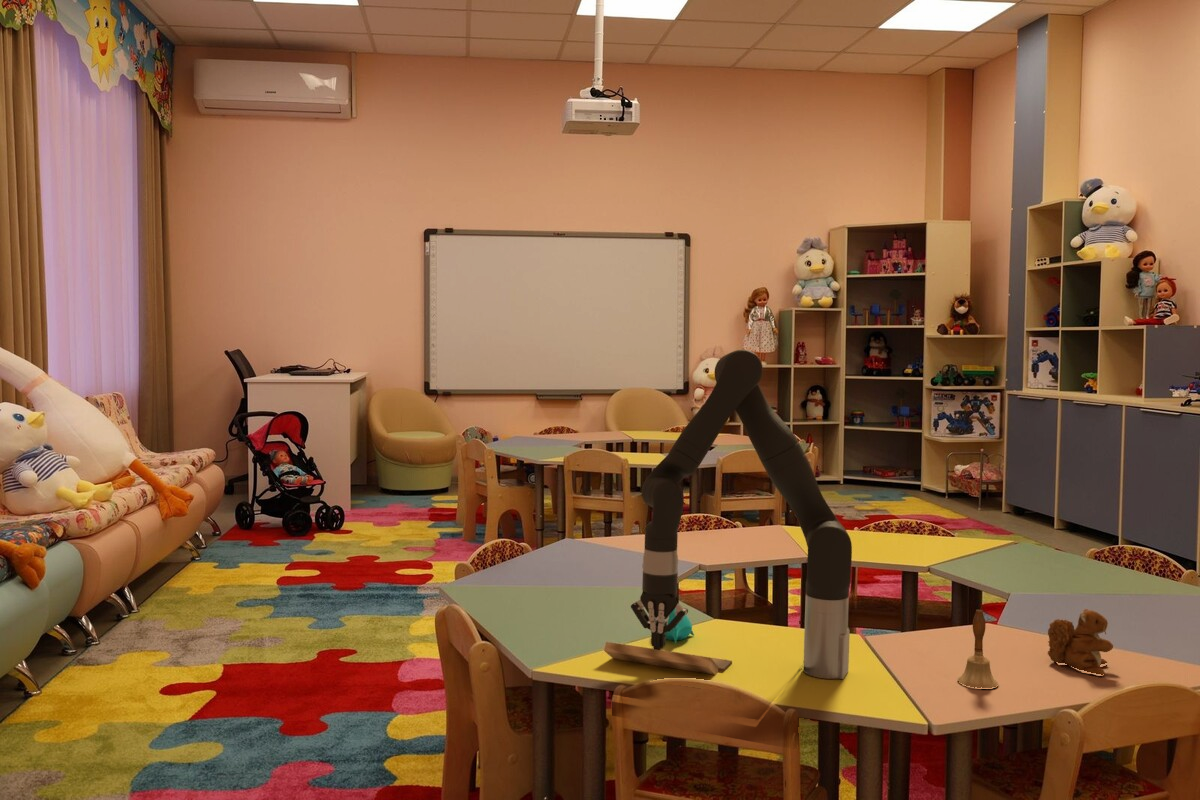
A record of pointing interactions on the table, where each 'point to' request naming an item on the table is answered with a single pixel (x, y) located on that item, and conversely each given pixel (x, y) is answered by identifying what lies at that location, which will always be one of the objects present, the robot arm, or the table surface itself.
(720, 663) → the base strip
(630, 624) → the table surface
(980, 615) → the hand bell
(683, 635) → the toy shark
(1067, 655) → the stuffed squirrel
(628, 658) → the plank
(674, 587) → the robot arm
